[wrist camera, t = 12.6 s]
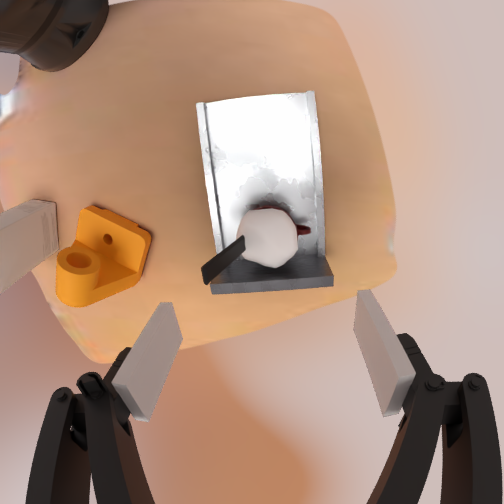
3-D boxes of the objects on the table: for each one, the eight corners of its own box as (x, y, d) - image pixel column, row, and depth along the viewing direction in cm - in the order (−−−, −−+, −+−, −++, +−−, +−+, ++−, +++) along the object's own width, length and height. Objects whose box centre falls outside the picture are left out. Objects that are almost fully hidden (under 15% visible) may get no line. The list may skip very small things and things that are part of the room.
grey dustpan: (200, 105, 28) (181, 95, 21) (311, 94, 26) (322, 80, 20) (222, 266, 35) (211, 294, 29) (322, 259, 34) (333, 286, 27)
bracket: (155, 232, 34) (108, 272, 23) (142, 276, 37) (100, 325, 26) (92, 201, 33) (33, 228, 22) (83, 245, 36) (32, 281, 24)
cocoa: (310, 212, 31) (339, 247, 20) (292, 261, 33) (310, 316, 22) (230, 188, 30) (214, 210, 19) (216, 239, 32) (196, 287, 21)
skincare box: (33, 197, 33) (-38, 228, 19) (58, 202, 33) (-18, 236, 19) (36, 245, 36) (-26, 285, 22) (61, 252, 36) (-4, 299, 22)
